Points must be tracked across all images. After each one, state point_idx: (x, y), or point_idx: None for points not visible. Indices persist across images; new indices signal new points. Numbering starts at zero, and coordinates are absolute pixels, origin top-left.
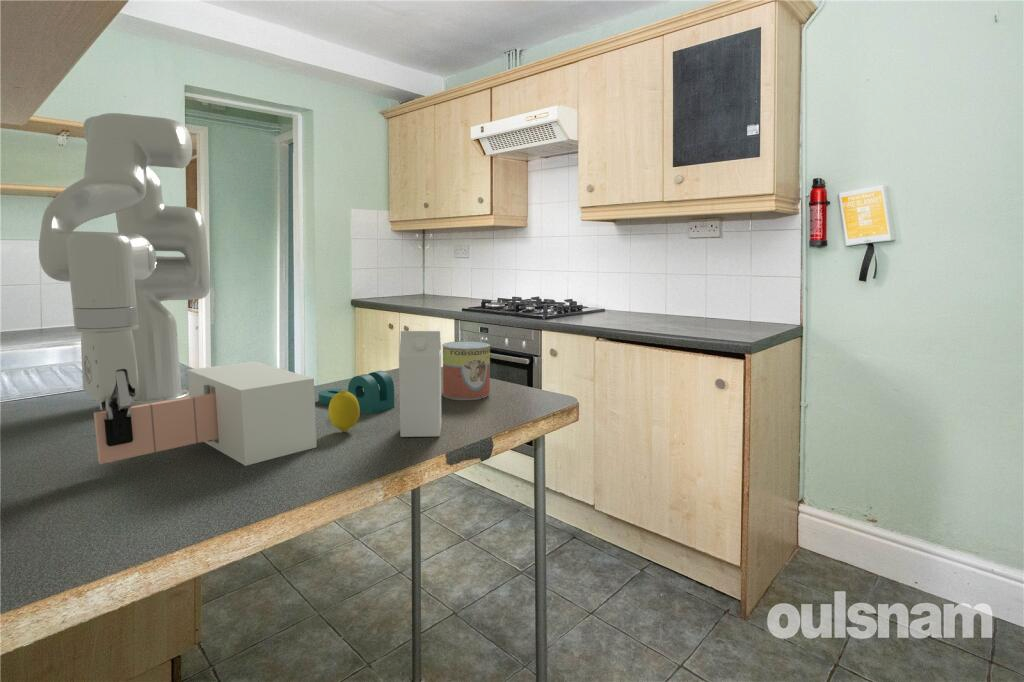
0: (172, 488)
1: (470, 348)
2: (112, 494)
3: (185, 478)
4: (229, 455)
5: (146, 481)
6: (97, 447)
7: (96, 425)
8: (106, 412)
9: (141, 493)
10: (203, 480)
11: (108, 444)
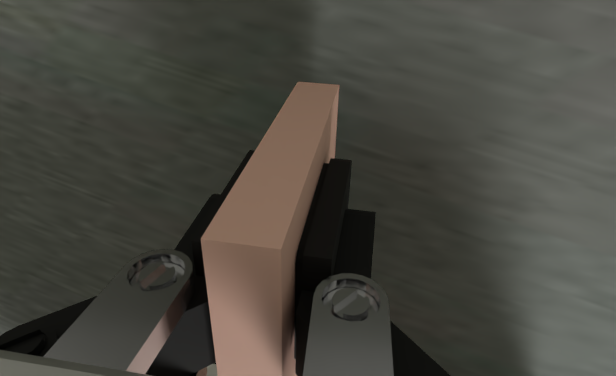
0: (35, 173)
1: None
2: (78, 26)
3: (103, 229)
4: (213, 367)
5: (147, 150)
6: (319, 113)
7: (250, 181)
8: (167, 296)
9: (37, 98)
10: (58, 247)
11: (249, 155)
